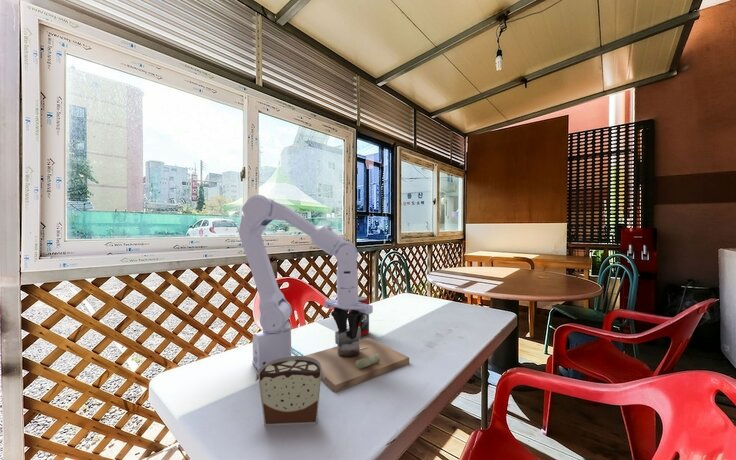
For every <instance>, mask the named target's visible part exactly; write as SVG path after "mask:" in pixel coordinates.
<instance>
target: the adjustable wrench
mask: <svg viewBox="0 0 736 460" xmlns="http://www.w3.org/2000/svg"><path fill="white" fill-rule="evenodd" d="M292 354H293V356H305V355H304V354H303V353H301V352H300V351H298V350H297V349H295V348H294V347H292V346H291V355H292Z"/></svg>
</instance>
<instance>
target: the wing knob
mask: <svg viewBox="0 0 736 460" xmlns="http://www.w3.org/2000/svg"><path fill="white" fill-rule="evenodd" d="M334 333H335V334H334V339H335V340H334V341H335V342H334V343H335V344H336V347H337V354H338V355H340V356H343V357H352V356H356V355H358V354H359V353H360V345H359V340H361V339H362V338H361V337H362V336H361V328H360V327H358V331H357V336H356V338H354V339H350V336H349V328H347V329H345V330H341V331H339V330H337V331H334Z"/></svg>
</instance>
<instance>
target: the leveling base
mask: <svg viewBox="0 0 736 460" xmlns="http://www.w3.org/2000/svg"><path fill="white" fill-rule="evenodd" d="M359 345H360V353H359V354H358V355H356V356H352V357H343V356H340V355H338V354H337V346H335V347H331V348H327V349H324V350H319V351H316V352H312V353H309V354H306V355H304V356H308V357H312V358H315V359H317V360H318V361H319V362H320V363H321V366H322V367H323V372H324V376H325V379H323V375H322V373H321V382H323V383H324V384H325V385H326V386H328V387H329V389H330V390H332V391H333V392H334V393H337V392H339V391H342V390H344V389H347V388H349V387H353V386H355V385H357V384H360V383H362V382H363V383H364V382H365V381H367V380H369V379H370V380H371V379H373V378H376V377H378V376H380V375H383V374H386V373H388V372H390V371H393V370H395V369H398V368H401V367H404V366H406V365H409V364H410V356H407V355H405V354H404V353H400V352H399V351H397V350H394V349H392V348H391V347H389V346H386V345H385V344H382V343H380V342H379V341H376V340H374V339H373V338H370V337H364V338H361V339H359Z"/></svg>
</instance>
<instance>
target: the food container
mask: <svg viewBox="0 0 736 460" xmlns="http://www.w3.org/2000/svg"><path fill="white" fill-rule="evenodd" d="M321 373H322V375H323V379H325V376H324V372H323V367H322V366H321V363H320V362H319V361H318V360H317V359H315V358H312V357H308V356H305V355H304V356H301V355H298V356H295V355H291V356H288V357H282V358H278V359H275V360H273V361H270V362H268V363H266V364H265V365H263V366H262V367H261V368H259V370H258V369H257V373H256V375H255V381H254V382H257V381H258V386H259V392H260V400H261V407H262V415H263V416H262V417H263V423H264V424H263V425H264V427H267V426H268V427H269V426H287V425H288V426H291V425H293V426H294V425H316V424H318V416H319V415H318V413H319V404H320V402H319V401H320V392H321V391H320V390H321V382H322V380H321Z"/></svg>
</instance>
